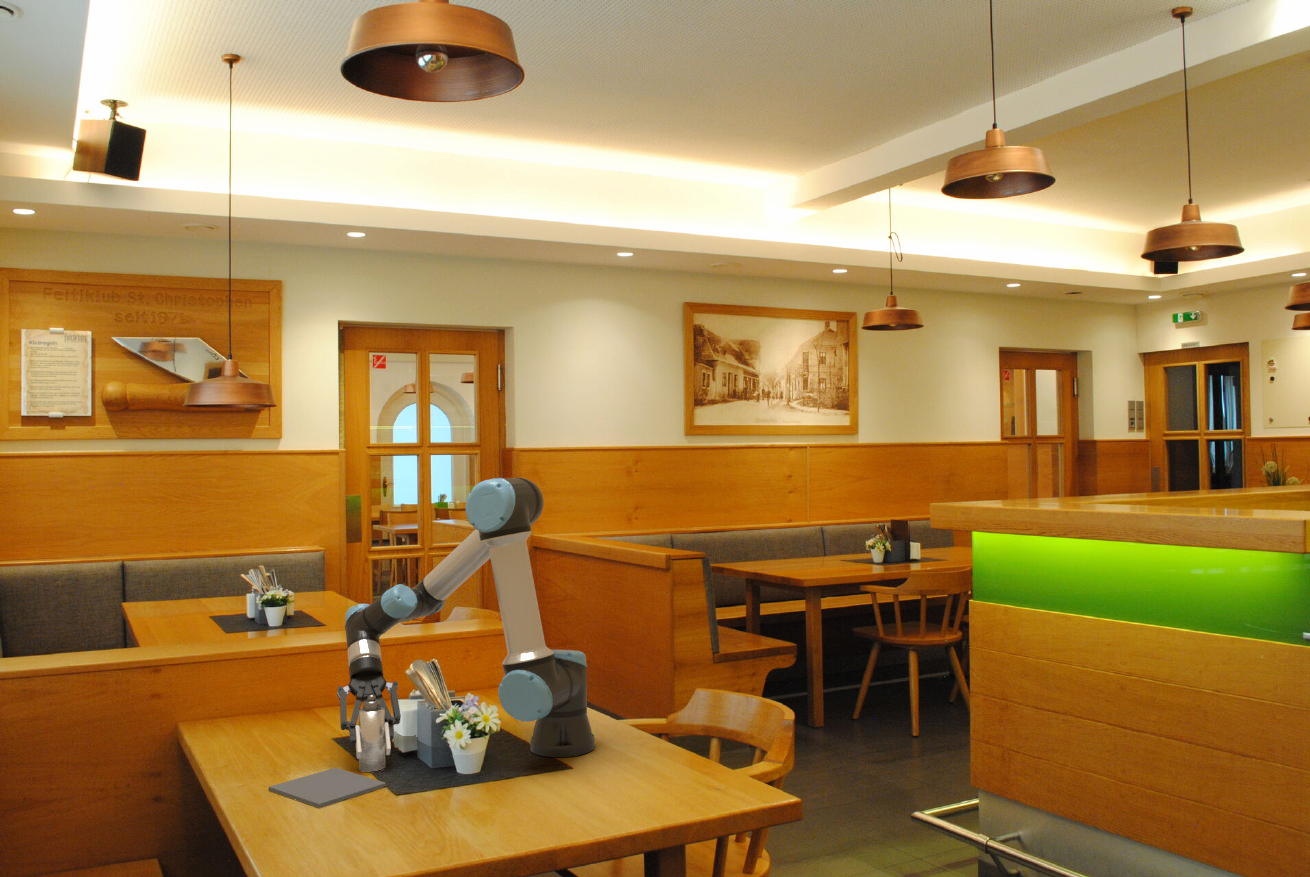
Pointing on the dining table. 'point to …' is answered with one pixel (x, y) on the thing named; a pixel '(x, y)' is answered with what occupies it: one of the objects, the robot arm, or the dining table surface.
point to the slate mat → (327, 787)
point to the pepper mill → (372, 735)
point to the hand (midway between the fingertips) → (373, 753)
